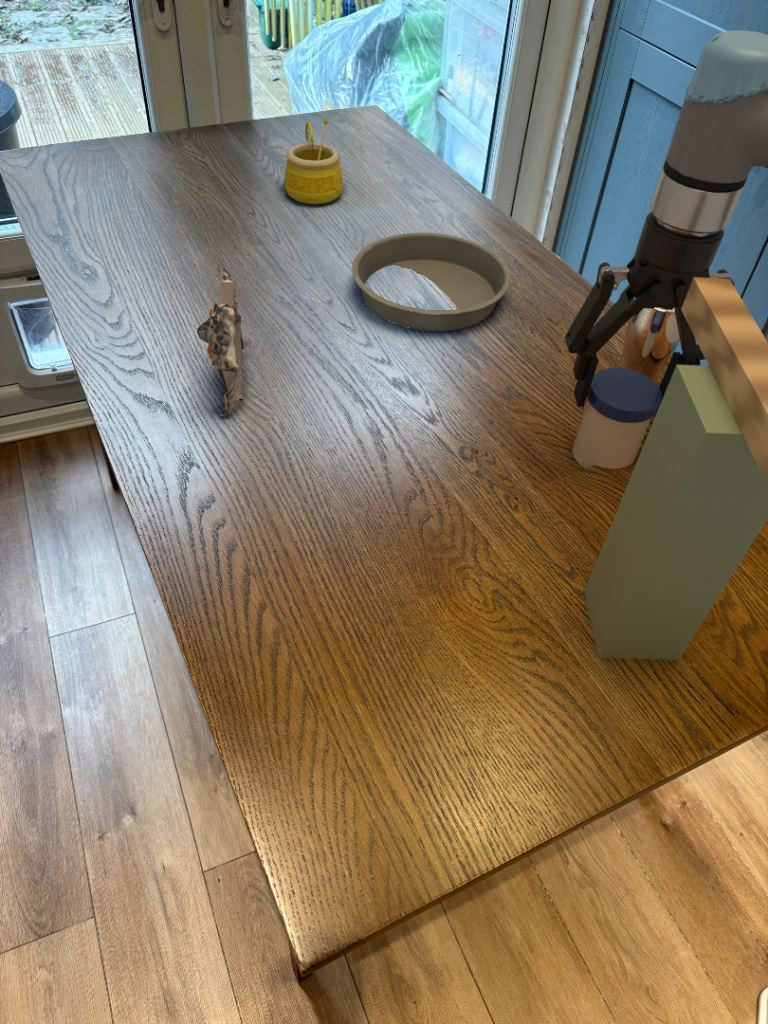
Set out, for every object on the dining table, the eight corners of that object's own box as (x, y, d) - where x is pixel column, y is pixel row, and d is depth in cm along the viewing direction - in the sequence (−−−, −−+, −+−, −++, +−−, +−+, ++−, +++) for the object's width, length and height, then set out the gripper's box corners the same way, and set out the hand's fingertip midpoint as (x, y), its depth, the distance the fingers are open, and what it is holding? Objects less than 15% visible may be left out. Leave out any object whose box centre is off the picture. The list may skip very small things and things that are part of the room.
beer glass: (636, 374, 108) (670, 279, 97) (666, 403, 103) (706, 307, 92) (596, 384, 105) (626, 288, 95) (626, 414, 101) (661, 317, 90)
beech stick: (680, 309, 63) (693, 276, 61) (715, 311, 63) (729, 278, 61) (761, 473, 49) (781, 439, 47) (806, 475, 49) (828, 441, 47)
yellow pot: (329, 213, 137) (329, 145, 128) (275, 201, 139) (271, 133, 131) (355, 186, 146) (357, 120, 137) (304, 175, 148) (303, 110, 139)
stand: (580, 598, 79) (676, 364, 57) (655, 601, 80) (778, 369, 58) (594, 664, 74) (706, 432, 52) (674, 667, 74) (819, 437, 52)
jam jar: (646, 464, 95) (672, 402, 87) (599, 483, 92) (622, 421, 84) (605, 428, 99) (627, 366, 92) (559, 445, 96) (578, 382, 89)
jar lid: (672, 411, 88) (677, 399, 87) (619, 431, 85) (623, 419, 84) (624, 372, 93) (628, 360, 92) (572, 390, 90) (575, 378, 89)
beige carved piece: (214, 351, 106) (202, 266, 96) (244, 351, 106) (236, 266, 97) (209, 420, 96) (196, 332, 86) (243, 419, 96) (234, 331, 87)
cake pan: (390, 243, 131) (392, 218, 127) (525, 280, 124) (530, 255, 121) (323, 310, 115) (323, 283, 112) (473, 356, 109) (478, 329, 105)
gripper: (783, 209, 76) (701, 387, 92) (569, 195, 75) (524, 377, 91) (811, 245, 71) (719, 427, 87) (582, 231, 70) (532, 417, 86)
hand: (619, 401), depth 89 cm, fingers open, 9 cm apart
